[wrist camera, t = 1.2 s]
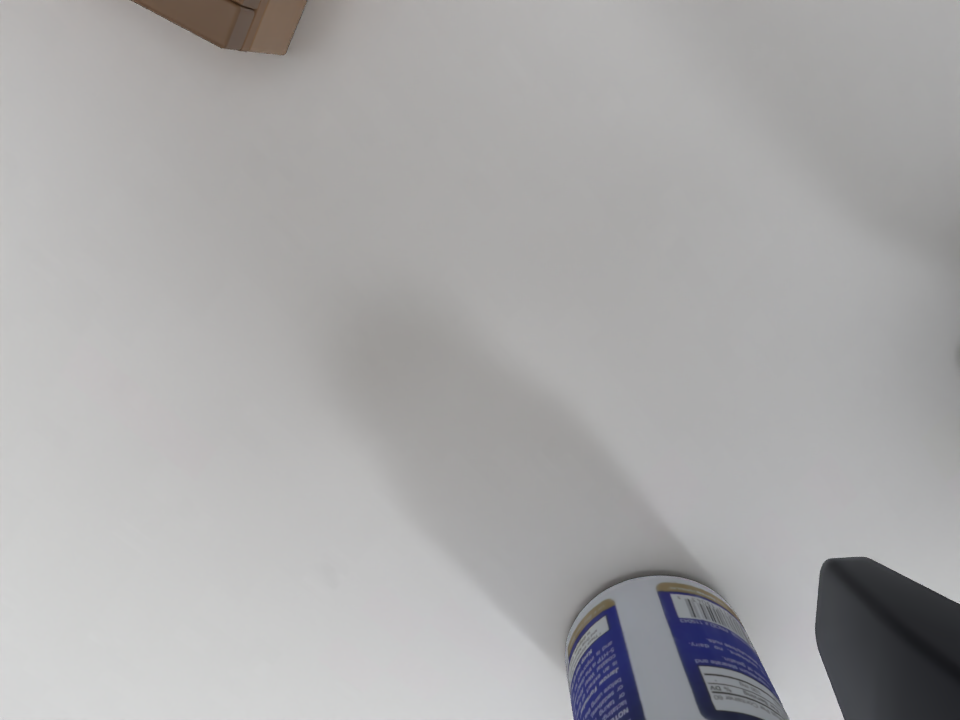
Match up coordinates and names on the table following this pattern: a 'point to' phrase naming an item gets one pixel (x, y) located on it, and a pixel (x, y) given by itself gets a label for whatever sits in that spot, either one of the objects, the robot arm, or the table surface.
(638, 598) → the pill bottle
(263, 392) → the table surface
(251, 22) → the wooden tray
